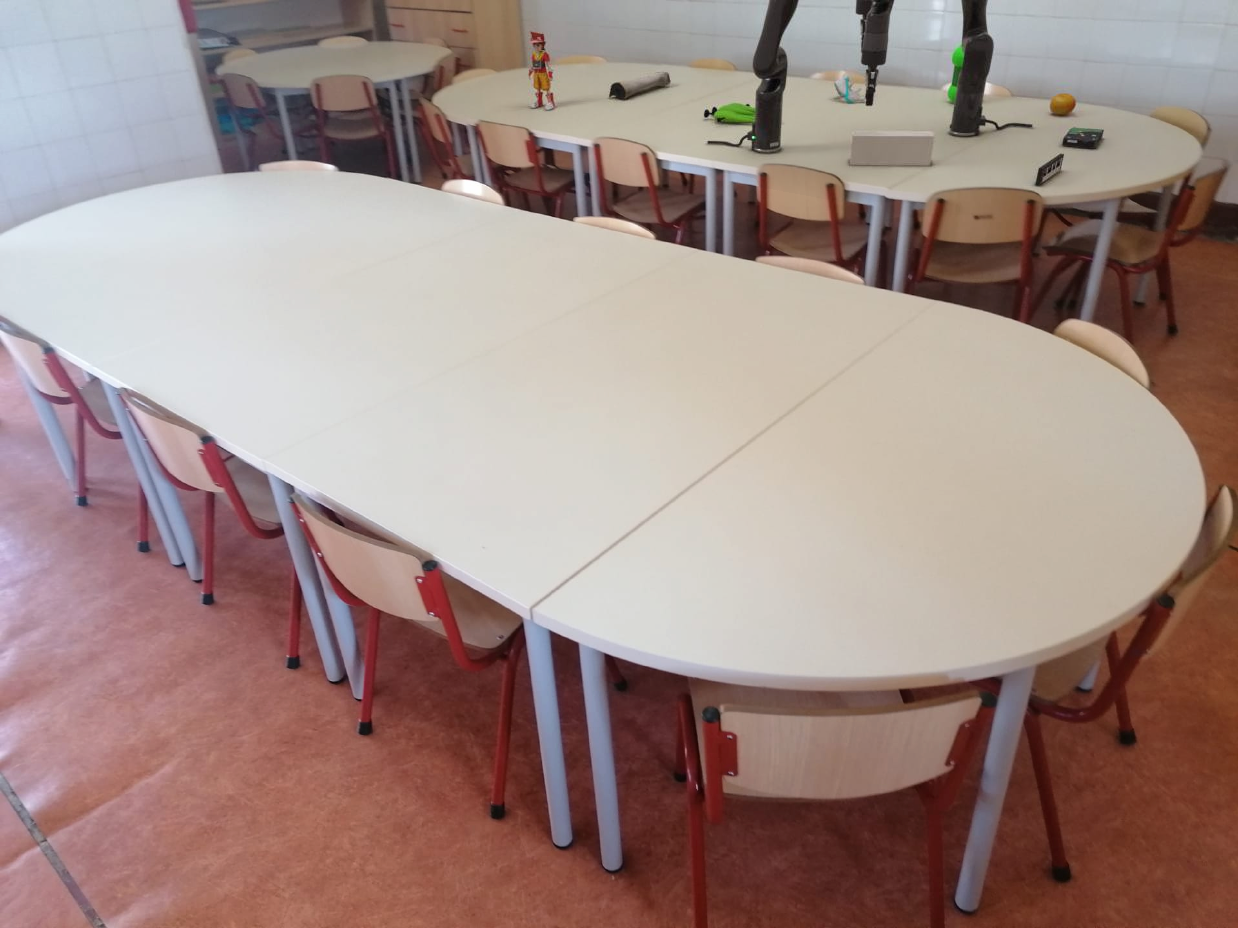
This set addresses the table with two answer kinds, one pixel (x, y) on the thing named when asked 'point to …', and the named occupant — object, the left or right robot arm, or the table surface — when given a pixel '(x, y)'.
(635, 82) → the rolled mat
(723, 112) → the toy
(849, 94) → the anatomical model
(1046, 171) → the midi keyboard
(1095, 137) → the disk drive
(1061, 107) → the fruit
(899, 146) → the box
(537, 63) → the toy
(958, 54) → the green tall lumpy piece
